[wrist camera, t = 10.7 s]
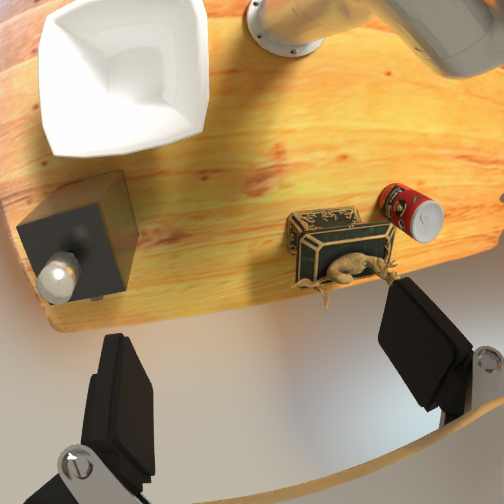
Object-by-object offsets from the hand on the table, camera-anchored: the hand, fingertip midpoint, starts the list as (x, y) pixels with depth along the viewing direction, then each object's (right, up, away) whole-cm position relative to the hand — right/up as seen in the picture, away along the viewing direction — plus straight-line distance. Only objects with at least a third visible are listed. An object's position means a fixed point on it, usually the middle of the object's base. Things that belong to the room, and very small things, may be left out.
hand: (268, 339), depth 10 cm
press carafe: (-25, +8, +35) cm, 44 cm away
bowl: (-17, +28, +27) cm, 42 cm away
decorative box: (+10, +7, +45) cm, 47 cm away
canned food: (+27, +13, +46) cm, 54 cm away
